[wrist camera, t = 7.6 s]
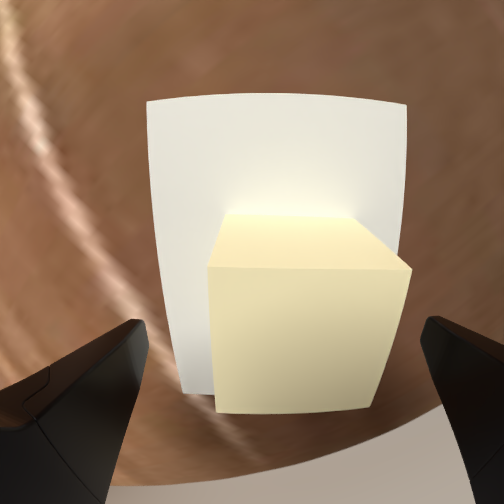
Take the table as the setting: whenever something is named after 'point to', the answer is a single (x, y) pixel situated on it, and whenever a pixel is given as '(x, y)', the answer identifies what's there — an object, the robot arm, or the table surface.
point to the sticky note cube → (301, 313)
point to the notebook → (261, 185)
